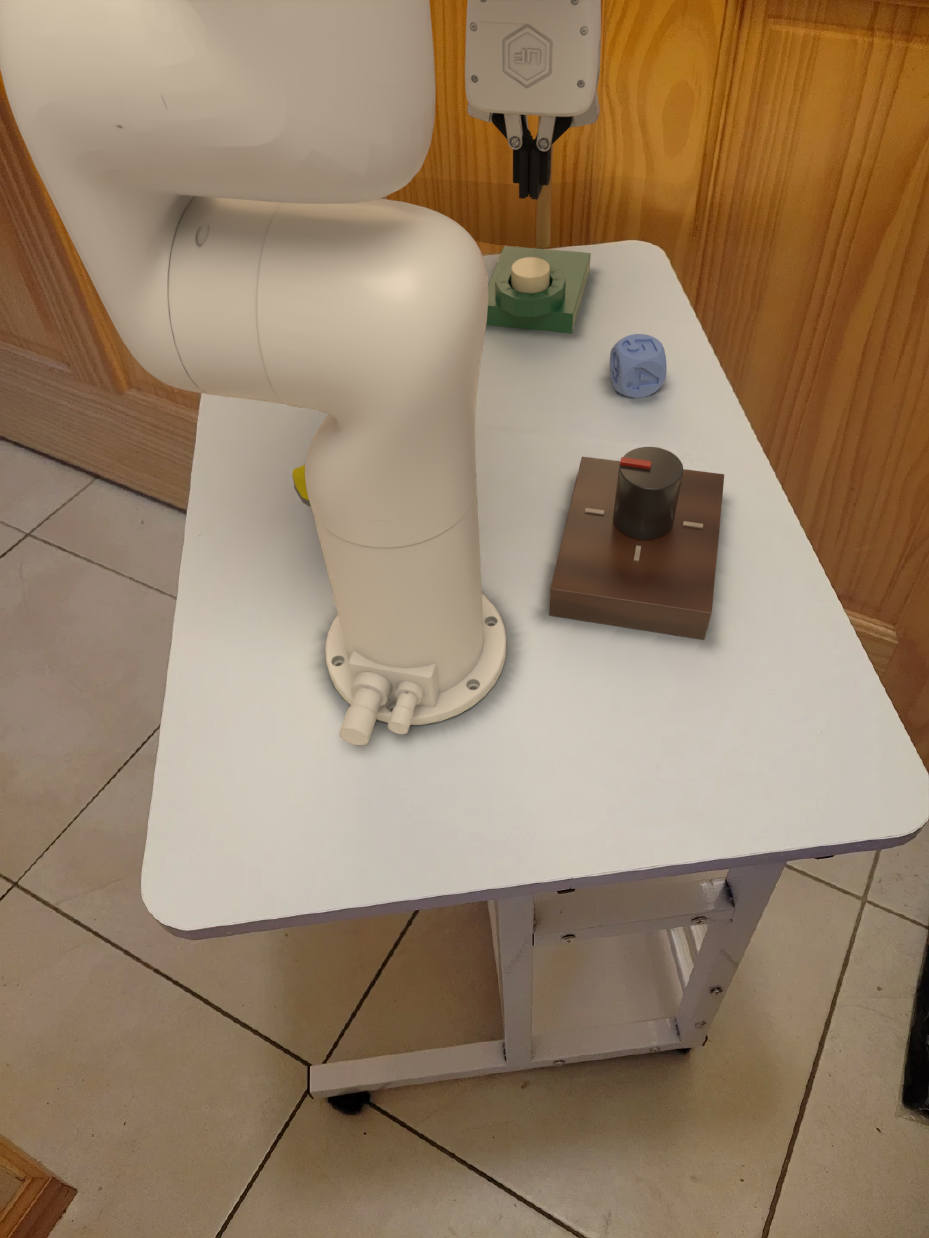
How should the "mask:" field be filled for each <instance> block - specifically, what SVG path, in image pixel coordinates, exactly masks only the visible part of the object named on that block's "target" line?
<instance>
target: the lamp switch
mask: <svg viewBox="0 0 929 1238" xmlns="http://www.w3.org/2000/svg"><path fill="white" fill-rule="evenodd" d="M549 281H550V266H549V264H548V262H546V261H545V260H543V259H540V258H535V257H527V258H522V259H519V260H517V261H516V262H514V263H513V265H512V267H511V285H512V287H513V289H514V290H517V291H519V292H524V293H536V292H541V291H544V290H545V289H547V288H548V286H549Z"/></svg>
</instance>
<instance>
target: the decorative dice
mask: <svg viewBox="0 0 929 1238" xmlns="http://www.w3.org/2000/svg"><path fill="white" fill-rule="evenodd" d="M667 365H668V364H667V355H666V351H665V348H664V345H663V343H662V342H661V341H660V340H659V339H658V338H656V337H655V336H653V335H650V334H649V335H648V334H645V333H644V334H643V333H633V334H629V335H626V336H624V337H622V338H621V339H619V340H617V342H616V343H615V344H614V345H613V346H612V347H611V349H610V354H609V372H610V373H609V374H610V378H611V379H610V380H611V383H612V386H613V388H614V390H615V391H616V392H617V393H619V394H620V395H622V396H624V397H627V398H631V399H632V398H633V399H642V398H646V397H649V396H651V395H653V394H655V393H656V392H658V390H660V389H661V387H662V386H663V385H664V383H665V382H666V379H667V369H668V368H667V367H668V366H667Z"/></svg>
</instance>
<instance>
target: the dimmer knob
mask: <svg viewBox="0 0 929 1238" xmlns="http://www.w3.org/2000/svg"><path fill="white" fill-rule="evenodd" d="M619 461H620V464H619V472H618V480H617V488H616V497H615V505H614V513H613V519H614V522H615V525H616V526H617V528H618V529H619V530H620V531H621V532H623V533H624V534H626V535H628V536H630V537H633V538H636V539H643V540H648V539H655V538H659V537H661V536H663V535H665V534H666V533H667V532H668V531H669V530H670V529H671V528H672V526H673V523H674V518H675V513H676V508H677V502H678V497H679V492H680V487H681V482H682V477H683V469H684V465H683V463H682V461H681V460H680V458H679V457H678V456H677V455H676V454H675V453H673V452H672V451H670V450H667V449H665V448H663V447H657V446H642V447H636V448H634V449H632V450H629V451H628V452H627V453H625V454H624V455H623V456H621V457H620V460H619Z"/></svg>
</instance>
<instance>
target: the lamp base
mask: <svg viewBox="0 0 929 1238" xmlns="http://www.w3.org/2000/svg"><path fill="white" fill-rule="evenodd" d="M591 256H592V254H591V252H583V251H573V250H572V251H571V250H559V249H547V248H544V249H542V248H537V247H536V248H535V247H524V246H523V247H522V246H511V245H503V247H502V250H501V253H500V255H499V257H498V259H497V262H496V265H495V267H494V270H493V272H492V275H491V277H490V280H489V281H488V311H487V323H486V326H490V327H491V326H492V327H503V328H510V329H511V328H512V329H522V330H531V331H532V330H533V331H540V332H541V331H542V332H552V333H563V334H573V332H574V328H575V325H576V321H577V318H578V315H579V311H580V307H581V303H582V300H583V296H584V293H585V290H586V286H587V283H588V279H589V276H590V270H591ZM527 257H535V258H540V259H543V260H545V261H546V262H548V264H549V266H550V281H549V286H548V288H547V289H545V290H544V291H541V292H536V293H524V292H519V291H517V290H514V289H513V287H512V285H511V267H512V265H513V263H514V262H516V261H517V260H519V259H522V258H527Z"/></svg>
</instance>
